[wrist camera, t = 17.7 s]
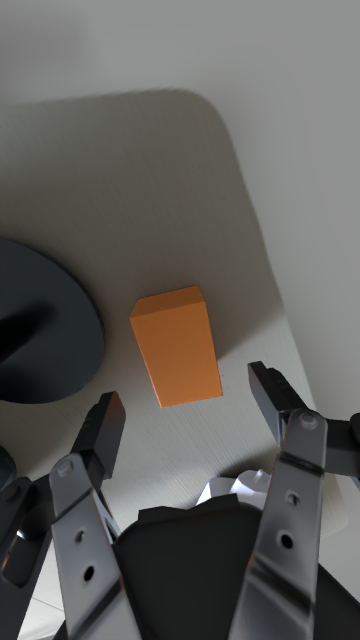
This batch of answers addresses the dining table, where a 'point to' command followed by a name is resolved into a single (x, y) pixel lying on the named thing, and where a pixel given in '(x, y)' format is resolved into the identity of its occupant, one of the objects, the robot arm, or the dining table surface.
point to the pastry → (5, 560)
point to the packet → (177, 346)
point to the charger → (240, 487)
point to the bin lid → (44, 328)
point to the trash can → (6, 469)
